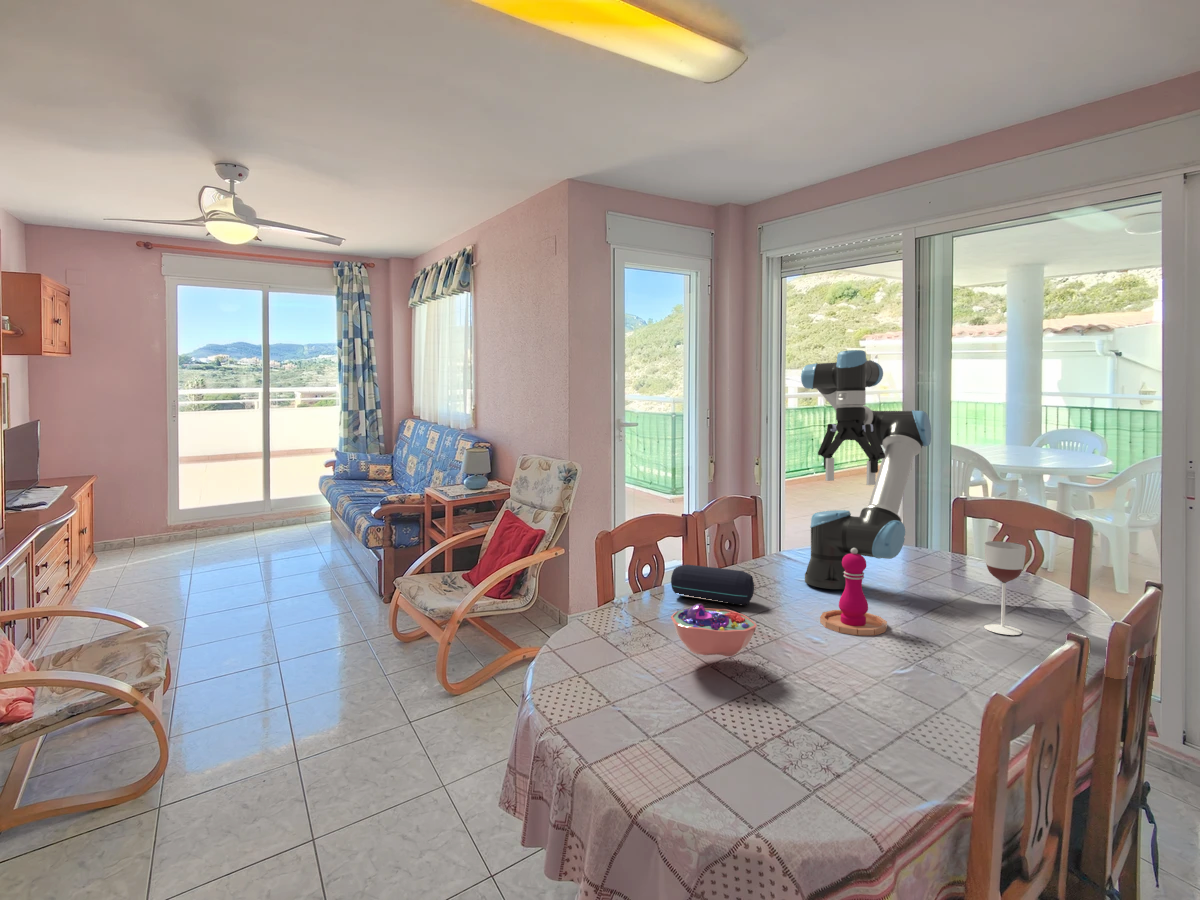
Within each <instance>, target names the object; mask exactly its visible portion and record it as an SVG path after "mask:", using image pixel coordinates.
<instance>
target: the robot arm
mask: <svg viewBox="0 0 1200 900" xmlns="http://www.w3.org/2000/svg"><path fill="white" fill-rule="evenodd" d="M867 359H868V358H867V353H866V352H865V351H864V350H860V349H855V350H854V349H852V350H842V351H839V352H838V353H837V356H836V362H822V363H821V362H820V363H818V362H816V363H812V364H806V365H805V366H804V367H803V368H802V369H801V373H800V380H801V385H802V387H804V389H809V390H810V389H811V390H815V389H816V390H817V391H818V392H819V393H820V394H821V395H822V397H823V398H824V399H825V400H826V401H827V402H828V403H829V404H830V406H831V407H832V408H833V409H834V410H835V420H836V421H837V423H828V424H827V426H826V432H825V436H824V437H823V440H822V442H821V444H820V448H819V449H818V451H817V454H818V456H821V457H823V468H824V470H825V481H826V482H832V481H834V480H835V457H833V456H834V454H835V453H836V451H837V450H838V449H839V448H840V446H841V445H842V444H843V443H844V442H845V441H855V442H856V443H858V445H859V446H860V448H861V450H862V451H863V453H865V455H866V457H867V458H868V460H866V486H874V487H873V490H872V493H871V495H870V499H869V501H868V502H869V503H868V506H865V507H863V508H862V509H861V511H860V514H859V516H851V514H852V513H851V511H850V510H845V509H843V510H842V509H839V510H836V509H835V510H834V509H833V510H826V511H825V510H824V511H819V512H817V511H816V512H815V513H813V514H812V516H811V518H810V521H811V522H810V527H809V528H810V559H809V562H808V563H807V568H806V571H805V573H804V583H805V584H807V585H809V586H811V587H816V588H820V589H828V590H829V589H830V590H844V589H845V586H846V579H845V577H844V571H845V569H844V568H843V566H842V559H843V557H844V556H845V555H847V554H850V553H851V549H852V548H856V549H857V550H858V553H857V554H859V555H861V556H863V557H869V558H874V559H886V560H889V559H893V558H896V557H897V556H898V555H899V554H900V552H901V551H902V548H903V546H904V543H905V540H906V539H905V536H906V527H905V524H904V523H903V522H902V518H901V516H900V515H899V512H900V507H901V505H902V501H903V496H904V493H905V489H906V486H907V482H908V479H909V475H910V471H911V467H912V464H913V460H914V457H915V456H917V455H919V454H920V453H921V451H922V448H923V447H929V446H930V444H931V442H932V427H931V421H930V420H931V419H930V417H929V415H928V413H927V412H925V411H924V410H914V409H912V410H872V409H871V407H868V406H867V405H866V391H867V390H866V388H871V387H875V386H876V385H878V384H880V383H881V381H882V379H883V377H884V371H883V367H882V366H881V365H880V363H878V362H876V361H874V360H871V359H869V360H867ZM883 448H884V449H883ZM880 461H881V463H880V466H879V462H880ZM876 474H877V477H876Z"/></svg>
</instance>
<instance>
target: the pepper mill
mask: <svg viewBox="0 0 1200 900" xmlns="http://www.w3.org/2000/svg"><path fill="white" fill-rule="evenodd" d="M857 553H858V550H857V549H856V548H852V549H851V553H850V554H847V555H845V556H844V557H843V559H842V566H843V568H844V569H845V571H844V577H845V579H846V586H845V589H843V592H842V594H841V596H840V598H839V601H838V608H839V610H841V611H842V612H843V613H842V614H841V622H842V623H844V624H846V625H850V626H863V625H865V624H866V617H865V616H864V614H865V613H866V612H867V613H868V612H869V611H868V610H869V603H868V600H867V597H866V596H865V593H864V591H863V587H862V585H863V579H864V578H865V576H864V575H865V572H864V571H865V569H866V568H867V562H866V559H865V556H862V555H859V554H857Z"/></svg>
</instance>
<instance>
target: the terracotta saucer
mask: <svg viewBox="0 0 1200 900" xmlns="http://www.w3.org/2000/svg"><path fill="white" fill-rule="evenodd" d="M842 613H843V612H842V611H841V610H840V609H832V610H829V611H824V612H822V613H821V615H820V616H819V622H820V624H821V625H822V626H824V627H825V628H826V629H828V630H831V631H834V632H836V633H840V634H846V635H853V636H878V635H880V634H884V633H886V632H887V629H888V621H886V619H884V618H883V617H881V616H879V615H876V614H873V613H870V612H868V611H867V612H866V613H865V614H864V616H865V617H866V624H865V625H863V626H850V625H846V624H844V623H842V622H841V614H842Z"/></svg>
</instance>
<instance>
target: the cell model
mask: <svg viewBox="0 0 1200 900" xmlns="http://www.w3.org/2000/svg"><path fill="white" fill-rule="evenodd" d="M670 619H671V621H672V624H673V626H674V631H675V633H676V635H677V637H678V639H679V641H681V643H682V644H683V645H684V646H685V647H686V649H688V650H689V651H690V652H691V653H692V654H695V655H697V656H698V655H700V656H701V655H702V656H715V655H719V656H722V657H728V658H729V657H733V656H735V655H737V654H739V653H741V651H743V650H745V648H746V647H747V646H748V645H749V644H750V642H751V641H752V639H753V636H754V634H755V632H756V628H757V626H758V624H756V622H755V621H753V620H752V619H751V618H750V617H748V616H747V615H745V614H743V613H741V612H740V613H739V612H737V611H735V610H730V609H727V608H709V607H708V608H706V607H705V605H704V604H703V603H695V604H694V605H692V606H690V608H683V609H679V610H677V611H675V612H674V613H673V614H671V616H670Z"/></svg>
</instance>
